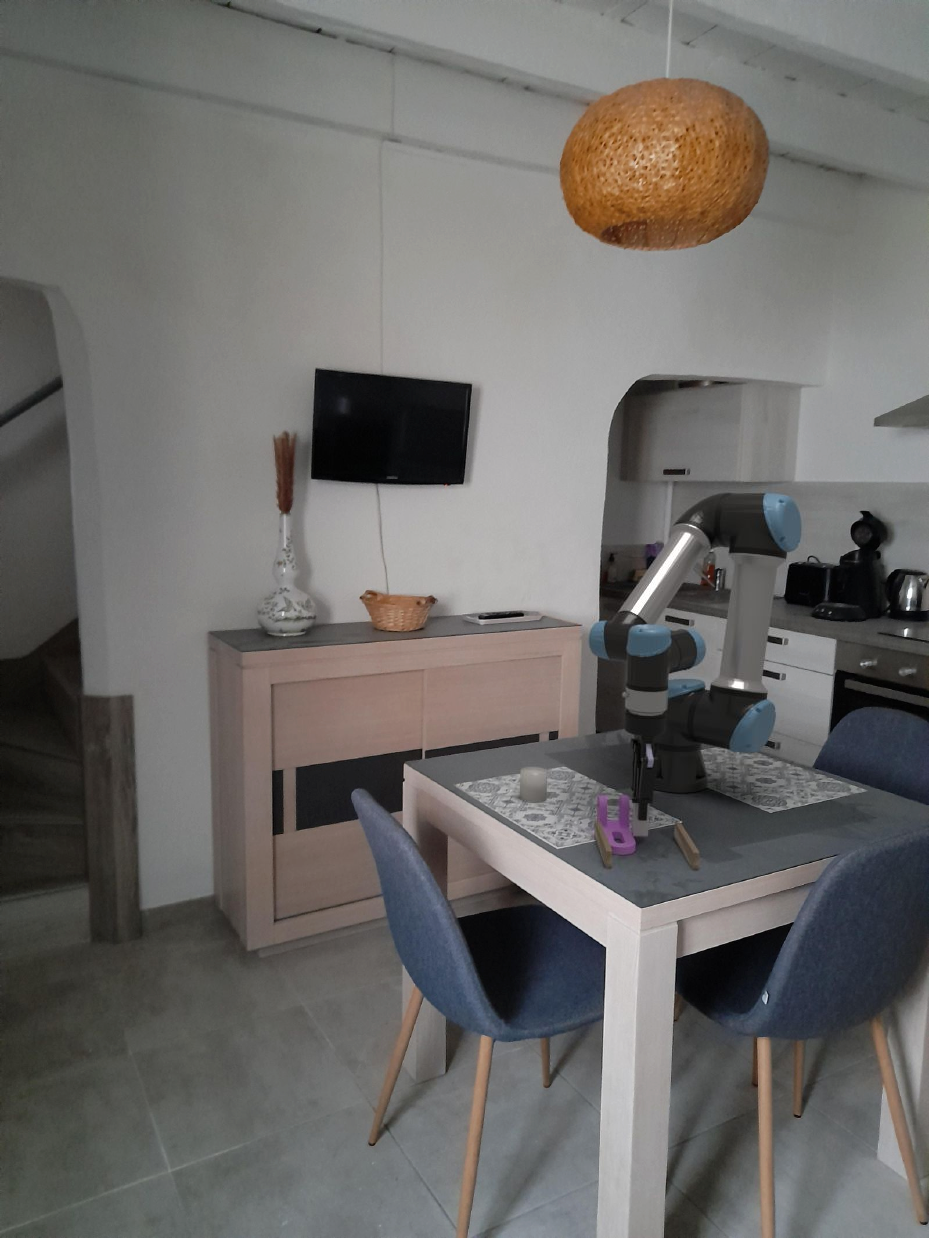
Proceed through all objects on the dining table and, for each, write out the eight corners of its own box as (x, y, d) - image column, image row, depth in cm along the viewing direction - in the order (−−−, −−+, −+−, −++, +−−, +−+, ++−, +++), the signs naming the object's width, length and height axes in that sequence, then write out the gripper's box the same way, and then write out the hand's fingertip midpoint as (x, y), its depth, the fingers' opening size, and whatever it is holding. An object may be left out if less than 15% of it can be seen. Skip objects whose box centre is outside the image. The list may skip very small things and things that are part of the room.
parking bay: (679, 837, 166) (680, 822, 166) (698, 869, 152) (699, 852, 152) (594, 836, 166) (594, 820, 166) (605, 867, 152) (606, 851, 152)
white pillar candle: (545, 794, 189) (546, 766, 188) (547, 803, 183) (548, 775, 182) (519, 793, 189) (519, 766, 188) (520, 802, 183) (521, 774, 182)
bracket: (596, 827, 170) (597, 792, 169) (625, 827, 170) (626, 792, 169) (606, 854, 158) (607, 817, 157) (638, 854, 158) (639, 817, 156)
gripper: (618, 701, 167) (613, 820, 170) (631, 719, 154) (625, 848, 157) (658, 702, 167) (652, 821, 170) (674, 720, 154) (668, 849, 157)
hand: (639, 834), depth 164 cm, fingers closed
